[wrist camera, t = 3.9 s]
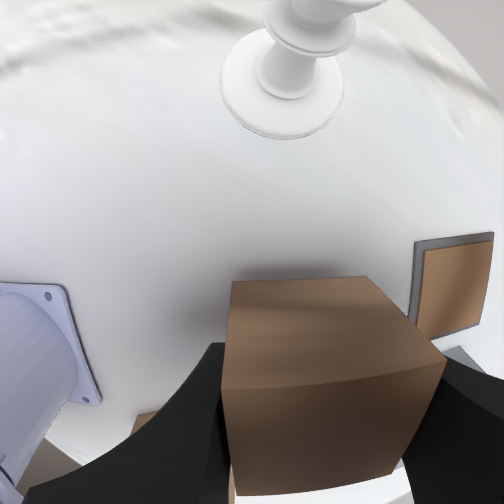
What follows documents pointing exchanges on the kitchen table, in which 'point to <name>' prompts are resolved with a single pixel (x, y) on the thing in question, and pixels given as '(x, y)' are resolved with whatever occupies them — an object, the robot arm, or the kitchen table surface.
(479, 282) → the walnut swatch
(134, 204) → the kitchen table surface
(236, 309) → the walnut block
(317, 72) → the chess piece
